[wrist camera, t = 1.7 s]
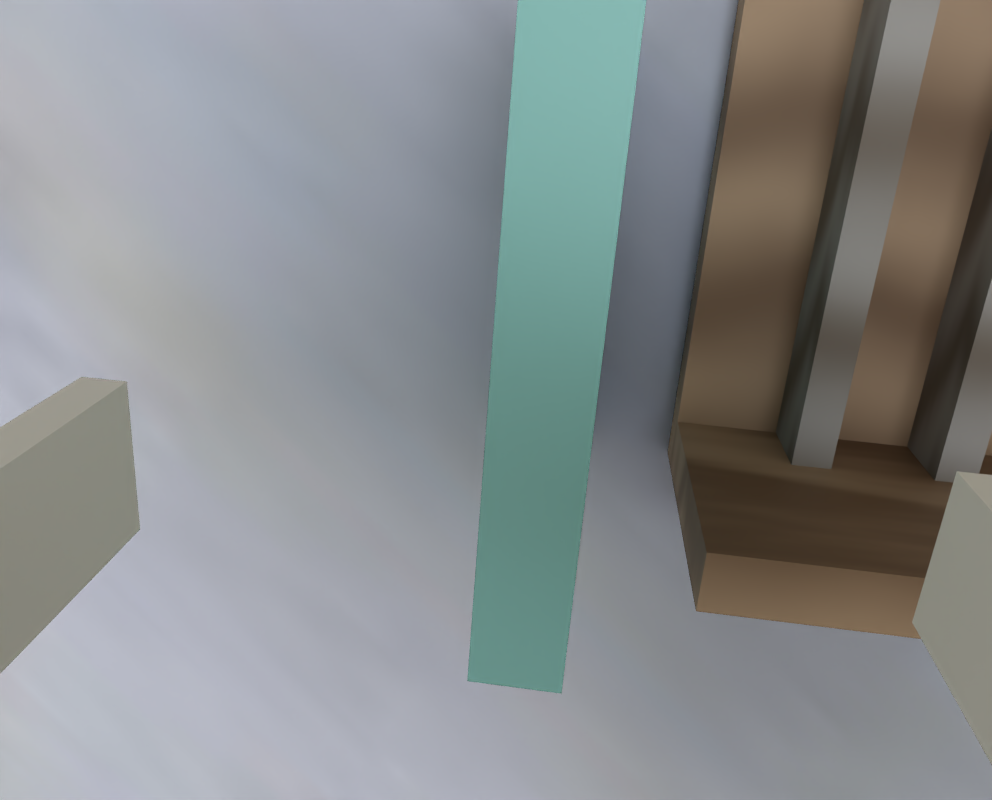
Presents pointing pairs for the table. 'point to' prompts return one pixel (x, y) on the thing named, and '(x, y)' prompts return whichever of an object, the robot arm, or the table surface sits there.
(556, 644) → the door panel
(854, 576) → the wooden rack
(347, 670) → the table surface
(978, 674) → the robot arm
